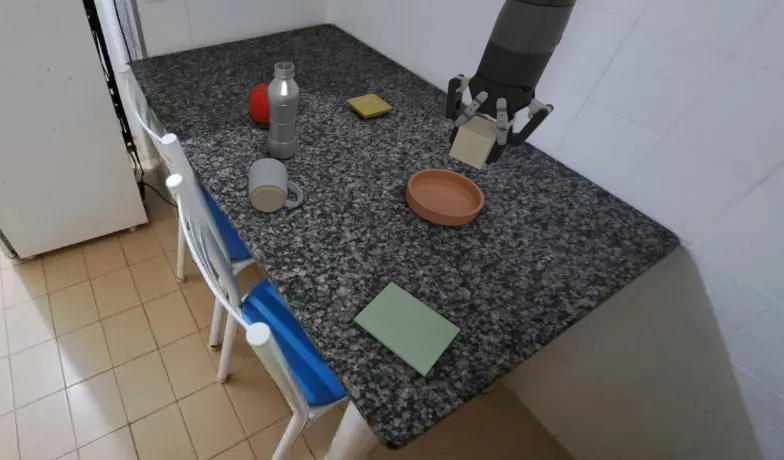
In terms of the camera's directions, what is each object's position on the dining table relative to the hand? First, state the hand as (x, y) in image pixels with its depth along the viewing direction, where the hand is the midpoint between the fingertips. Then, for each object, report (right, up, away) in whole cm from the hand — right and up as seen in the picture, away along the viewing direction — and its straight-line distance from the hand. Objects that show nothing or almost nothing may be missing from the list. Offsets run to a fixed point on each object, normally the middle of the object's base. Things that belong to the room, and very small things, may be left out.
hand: (472, 154), depth 60 cm
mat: (-11, -26, -2) cm, 28 cm away
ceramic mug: (-30, -6, +17) cm, 35 cm away
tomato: (-31, +16, +38) cm, 51 cm away
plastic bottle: (-29, +5, +28) cm, 40 cm away
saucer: (-6, +19, +42) cm, 46 cm away
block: (0, 0, 0) cm, 0 cm away
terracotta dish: (+3, -6, +17) cm, 19 cm away
